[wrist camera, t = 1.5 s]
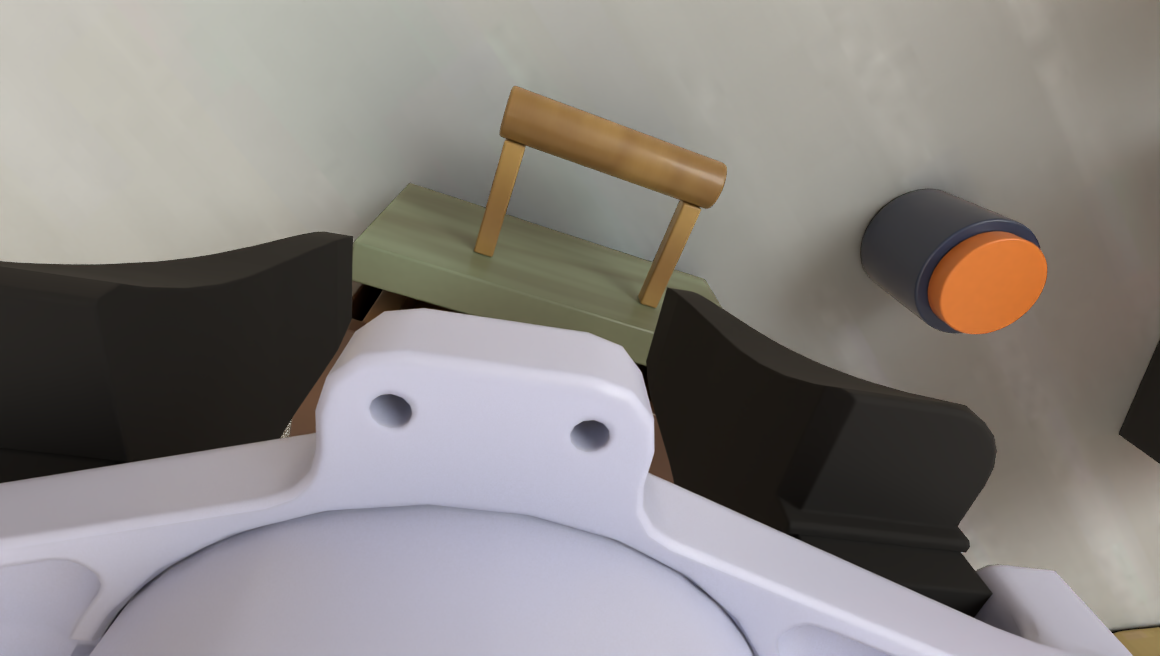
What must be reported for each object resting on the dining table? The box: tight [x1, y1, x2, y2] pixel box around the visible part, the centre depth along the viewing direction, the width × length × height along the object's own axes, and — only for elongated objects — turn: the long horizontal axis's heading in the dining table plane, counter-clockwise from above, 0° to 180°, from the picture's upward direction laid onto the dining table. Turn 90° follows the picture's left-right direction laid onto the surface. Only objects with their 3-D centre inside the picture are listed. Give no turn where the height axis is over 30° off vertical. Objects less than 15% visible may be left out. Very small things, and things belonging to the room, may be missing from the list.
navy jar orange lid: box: [861, 189, 1047, 334], centre depth 22 cm, size 4×4×5 cm
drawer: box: [352, 86, 727, 402], centre depth 21 cm, size 18×12×7 cm, turn 160°
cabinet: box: [289, 281, 674, 484], centre depth 23 cm, size 14×13×8 cm
